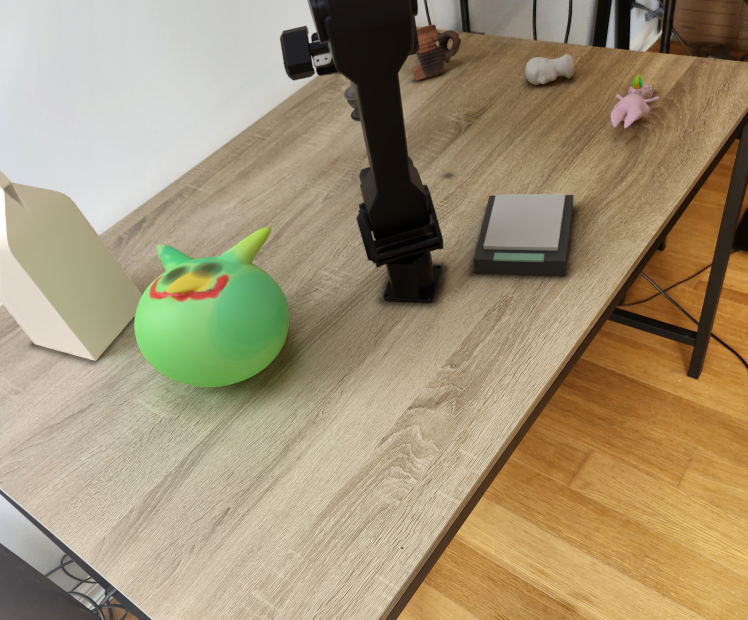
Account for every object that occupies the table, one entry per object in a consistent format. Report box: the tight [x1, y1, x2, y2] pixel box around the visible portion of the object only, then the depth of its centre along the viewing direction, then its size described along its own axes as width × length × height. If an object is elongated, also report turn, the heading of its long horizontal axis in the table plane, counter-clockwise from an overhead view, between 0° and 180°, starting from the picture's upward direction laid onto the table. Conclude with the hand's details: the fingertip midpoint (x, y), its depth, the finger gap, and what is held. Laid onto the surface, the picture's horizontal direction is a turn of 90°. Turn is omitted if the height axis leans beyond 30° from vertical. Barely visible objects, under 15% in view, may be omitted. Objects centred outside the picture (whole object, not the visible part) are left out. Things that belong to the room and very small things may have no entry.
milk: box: [0, 169, 143, 362], centre depth 82 cm, size 12×12×26 cm
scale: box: [473, 193, 575, 277], centre depth 83 cm, size 13×11×3 cm
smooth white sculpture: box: [524, 53, 574, 86], centre depth 107 cm, size 4×8×5 cm
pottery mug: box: [411, 24, 462, 82], centre depth 118 cm, size 12×10×8 cm
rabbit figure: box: [610, 73, 660, 129], centre depth 95 cm, size 6×6×15 cm
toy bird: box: [133, 226, 290, 388], centre depth 76 cm, size 18×17×15 cm
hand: (358, 67), depth 97 cm, fingers closed on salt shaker, 3 cm apart
